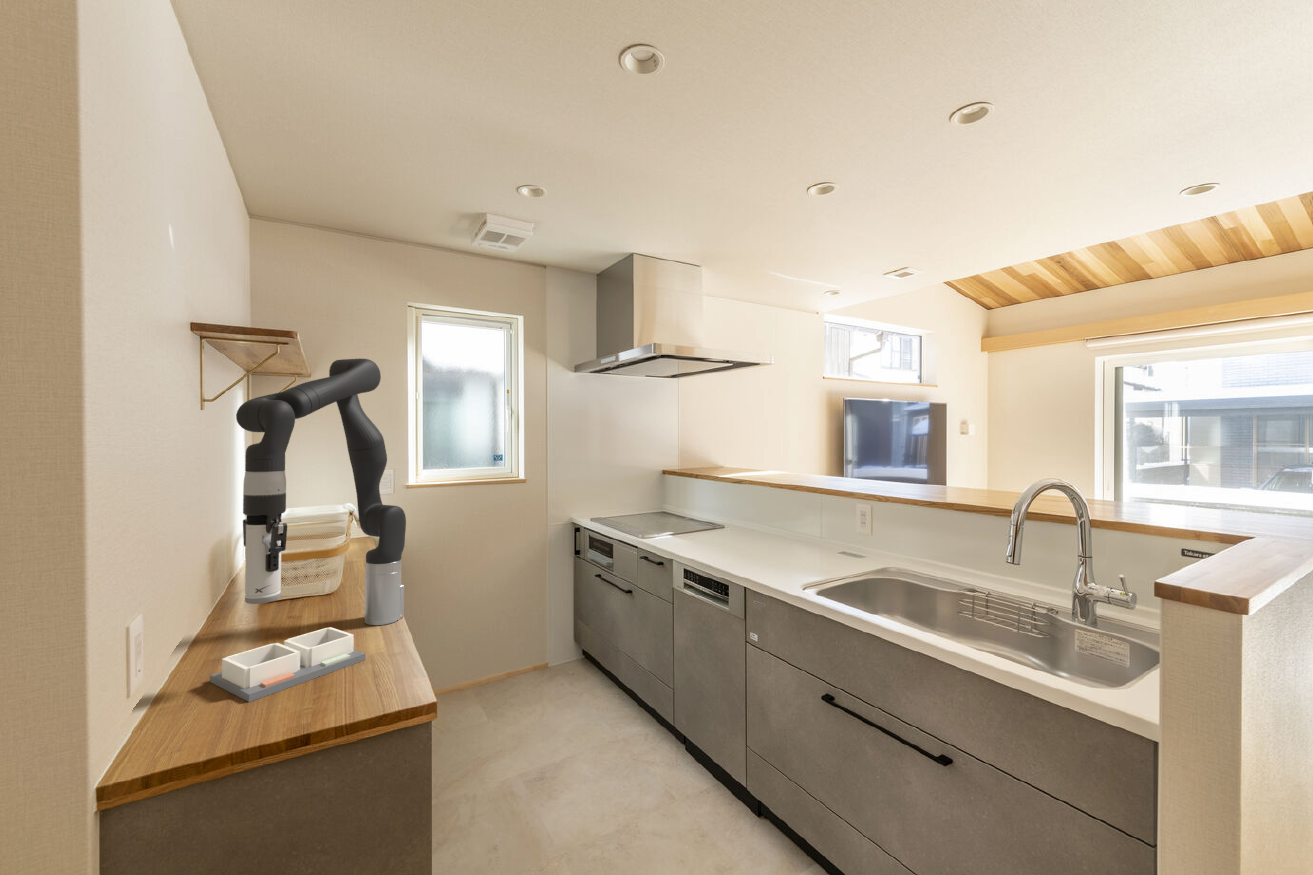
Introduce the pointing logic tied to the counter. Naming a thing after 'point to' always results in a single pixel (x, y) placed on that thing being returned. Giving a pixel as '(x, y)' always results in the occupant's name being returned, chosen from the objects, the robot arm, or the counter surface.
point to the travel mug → (259, 564)
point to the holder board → (286, 663)
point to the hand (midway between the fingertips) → (263, 568)
